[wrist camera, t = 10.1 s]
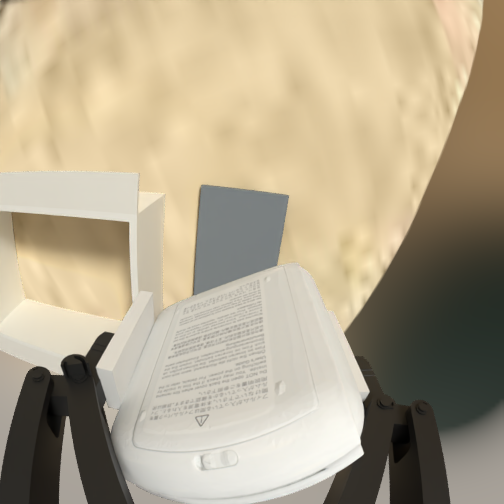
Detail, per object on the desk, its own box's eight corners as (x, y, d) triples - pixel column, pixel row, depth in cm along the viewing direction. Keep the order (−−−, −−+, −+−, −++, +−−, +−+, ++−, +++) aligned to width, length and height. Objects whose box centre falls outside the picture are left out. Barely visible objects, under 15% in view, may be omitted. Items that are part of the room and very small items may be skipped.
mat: (193, 311, 27) (193, 313, 27) (202, 184, 23) (201, 185, 22) (266, 319, 28) (266, 321, 27) (288, 195, 23) (288, 195, 23)
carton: (28, 317, 28) (0, 350, 21) (6, 163, 21) (-39, 175, 14) (165, 349, 29) (150, 397, 22) (167, 163, 22) (138, 173, 16)
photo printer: (182, 353, 19) (147, 515, 8) (150, 306, 18) (78, 474, 6) (322, 306, 18) (390, 480, 7) (302, 249, 17) (387, 434, 5)
